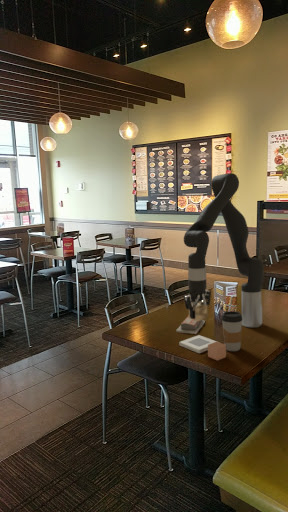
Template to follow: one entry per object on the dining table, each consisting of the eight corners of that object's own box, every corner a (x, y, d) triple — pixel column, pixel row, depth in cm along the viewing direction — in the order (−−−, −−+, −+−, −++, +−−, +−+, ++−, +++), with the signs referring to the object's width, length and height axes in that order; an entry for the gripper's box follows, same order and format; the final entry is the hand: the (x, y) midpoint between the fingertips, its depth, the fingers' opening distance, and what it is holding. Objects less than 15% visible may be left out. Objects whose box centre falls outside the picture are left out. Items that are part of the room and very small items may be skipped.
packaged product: (186, 312, 196) (205, 313, 192) (186, 321, 196) (205, 322, 193) (175, 323, 179) (196, 325, 176) (176, 333, 180) (196, 335, 176)
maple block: (198, 315, 165) (197, 303, 164) (207, 318, 160) (207, 305, 159) (188, 318, 161) (188, 305, 161) (198, 321, 157) (197, 308, 156)
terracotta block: (216, 353, 154) (216, 341, 153) (226, 357, 150) (225, 345, 149) (208, 356, 151) (207, 344, 150) (217, 360, 147) (217, 348, 146)
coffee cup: (219, 345, 161) (219, 311, 159) (238, 344, 162) (238, 310, 160) (225, 353, 153) (225, 317, 151) (245, 351, 154) (245, 316, 152)
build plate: (199, 338, 171) (199, 335, 171) (219, 345, 161) (219, 342, 161) (179, 345, 164) (179, 341, 164) (199, 353, 154) (199, 350, 154)
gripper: (190, 282, 151) (192, 322, 154) (215, 276, 159) (216, 315, 162) (178, 279, 157) (179, 318, 160) (202, 274, 165) (203, 311, 168)
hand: (198, 316), depth 161 cm, fingers closed on maple block, 5 cm apart
